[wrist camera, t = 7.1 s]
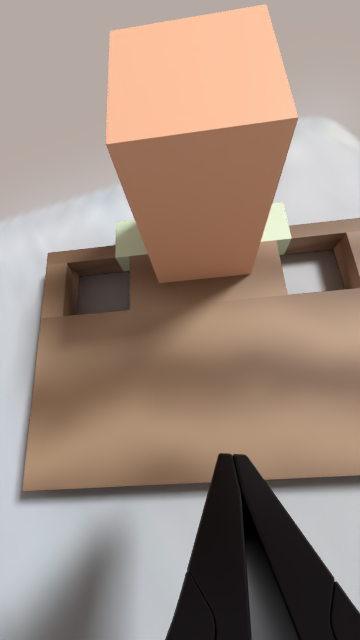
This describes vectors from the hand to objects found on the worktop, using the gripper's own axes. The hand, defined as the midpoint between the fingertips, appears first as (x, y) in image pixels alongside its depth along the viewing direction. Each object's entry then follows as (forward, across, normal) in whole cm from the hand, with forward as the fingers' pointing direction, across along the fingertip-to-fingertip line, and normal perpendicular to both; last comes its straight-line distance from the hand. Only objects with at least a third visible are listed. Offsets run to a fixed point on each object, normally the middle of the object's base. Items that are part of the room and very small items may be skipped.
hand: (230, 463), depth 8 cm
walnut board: (+10, 0, +2) cm, 10 cm away
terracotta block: (+14, +1, -5) cm, 15 cm away
